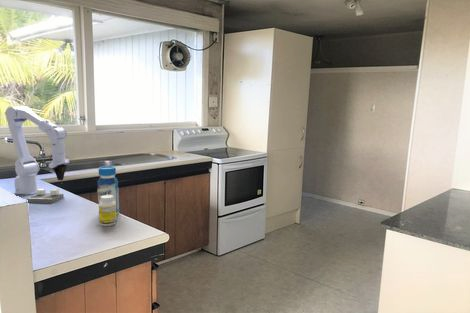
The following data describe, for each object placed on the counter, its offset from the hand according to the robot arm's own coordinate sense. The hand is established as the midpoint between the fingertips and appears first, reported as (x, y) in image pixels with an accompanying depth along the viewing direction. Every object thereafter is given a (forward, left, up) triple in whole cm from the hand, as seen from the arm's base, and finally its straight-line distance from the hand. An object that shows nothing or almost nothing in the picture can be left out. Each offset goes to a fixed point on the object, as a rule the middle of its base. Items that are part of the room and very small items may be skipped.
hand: (60, 179), depth 176 cm
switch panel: (-4, -7, -8) cm, 12 cm away
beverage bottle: (+35, -23, -9) cm, 43 cm away
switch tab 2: (0, -5, -6) cm, 8 cm away
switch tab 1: (-7, -5, -6) cm, 11 cm away
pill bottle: (+40, -35, -9) cm, 54 cm away
